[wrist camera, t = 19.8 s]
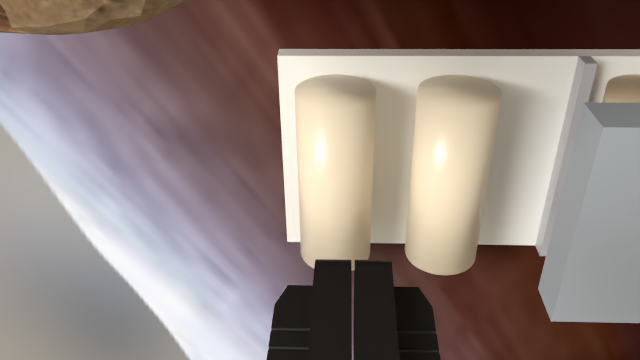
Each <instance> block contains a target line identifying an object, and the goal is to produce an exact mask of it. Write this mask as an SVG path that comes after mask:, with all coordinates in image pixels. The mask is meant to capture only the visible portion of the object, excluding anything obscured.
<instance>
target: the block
mask: <svg viewBox="0 0 640 360" xmlns="http://www.w3.org/2000/svg"><path fill="white" fill-rule="evenodd" d="M182 1H184V0H0V32H3V33H23V34H44V35H63V34H78V33H88V32H94V31H101V30H107V29H114V28H120V27H124V26H128V25H131V24H135V23H139V22H143V21H147V20H150V19H152V18H154V17H156V16H157V15H159V14H161V13H163V12H165V11H167V10H169V9H171V8H173V7H175V6H176V5H178V4H179V3H181V2H182Z"/></svg>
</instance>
